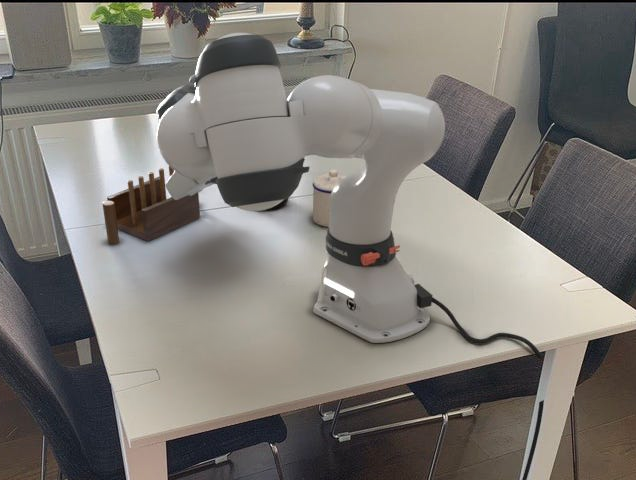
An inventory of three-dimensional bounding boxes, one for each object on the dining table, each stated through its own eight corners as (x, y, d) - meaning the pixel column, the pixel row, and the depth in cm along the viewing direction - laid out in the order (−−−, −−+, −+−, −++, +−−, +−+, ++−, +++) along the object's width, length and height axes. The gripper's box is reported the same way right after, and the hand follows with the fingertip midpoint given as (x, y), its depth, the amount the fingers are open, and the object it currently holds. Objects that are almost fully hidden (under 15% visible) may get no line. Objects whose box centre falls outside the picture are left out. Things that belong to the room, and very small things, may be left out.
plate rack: (200, 217, 174) (196, 169, 167) (148, 241, 163) (142, 191, 157) (163, 204, 180) (158, 156, 173) (111, 226, 169) (104, 177, 162)
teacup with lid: (355, 226, 171) (358, 177, 164) (316, 229, 169) (317, 179, 163) (343, 205, 180) (345, 157, 174) (305, 208, 179) (306, 160, 172)
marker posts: (200, 206, 179) (198, 169, 174) (113, 245, 161) (107, 206, 156) (193, 203, 180) (190, 166, 175) (105, 242, 162) (99, 203, 157)
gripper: (251, 129, 155) (218, 164, 165) (179, 156, 141) (148, 192, 152) (268, 155, 155) (234, 188, 166) (198, 185, 142) (166, 219, 152)
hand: (192, 191), depth 159 cm, fingers closed
